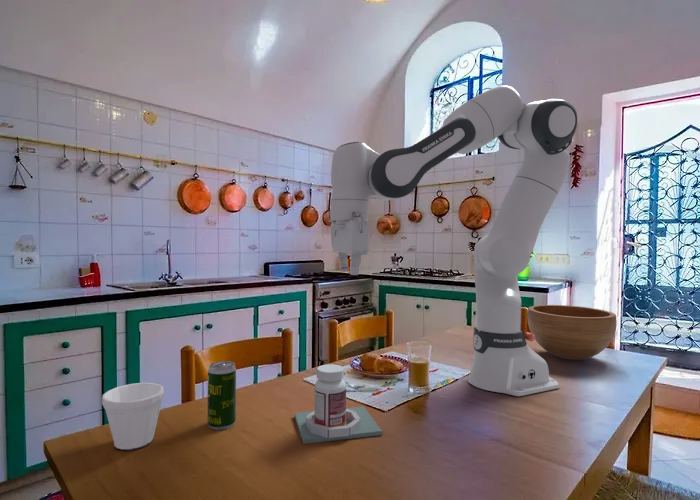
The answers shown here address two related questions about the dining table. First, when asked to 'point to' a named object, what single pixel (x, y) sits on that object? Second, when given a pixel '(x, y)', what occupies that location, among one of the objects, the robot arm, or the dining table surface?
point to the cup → (133, 413)
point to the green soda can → (221, 395)
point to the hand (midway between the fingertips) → (348, 273)
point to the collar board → (355, 427)
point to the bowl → (571, 330)
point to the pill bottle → (330, 396)
